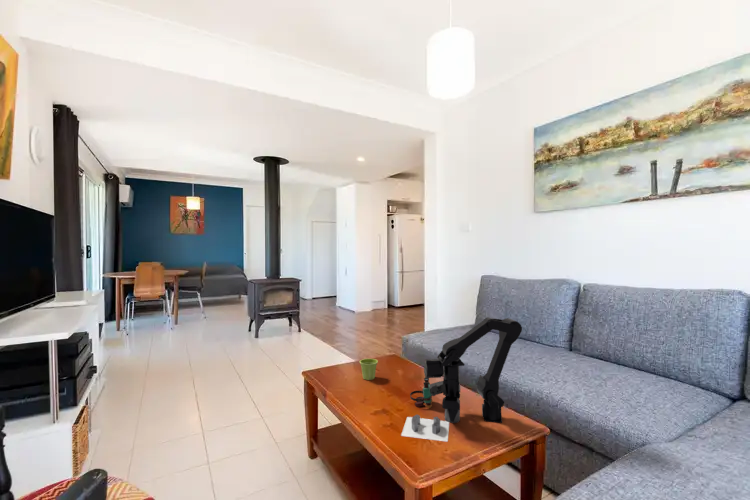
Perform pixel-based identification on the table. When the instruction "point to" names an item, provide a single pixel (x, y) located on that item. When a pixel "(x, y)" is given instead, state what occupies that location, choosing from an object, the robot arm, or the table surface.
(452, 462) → the table surface
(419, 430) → the mat
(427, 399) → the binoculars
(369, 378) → the plant pot
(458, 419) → the grey cylinder white dome
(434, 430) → the curved wall segments
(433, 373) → the robot arm
